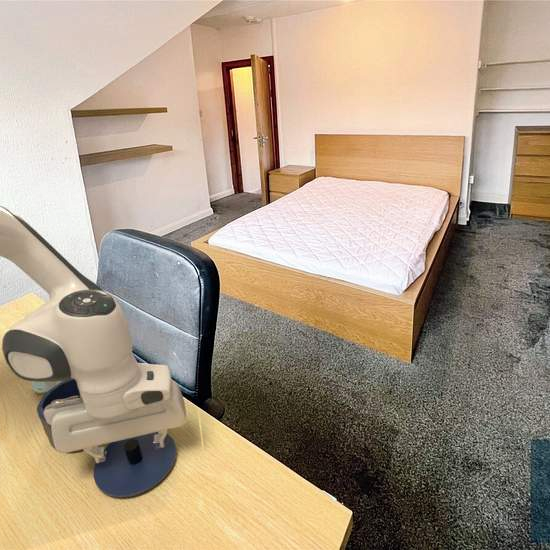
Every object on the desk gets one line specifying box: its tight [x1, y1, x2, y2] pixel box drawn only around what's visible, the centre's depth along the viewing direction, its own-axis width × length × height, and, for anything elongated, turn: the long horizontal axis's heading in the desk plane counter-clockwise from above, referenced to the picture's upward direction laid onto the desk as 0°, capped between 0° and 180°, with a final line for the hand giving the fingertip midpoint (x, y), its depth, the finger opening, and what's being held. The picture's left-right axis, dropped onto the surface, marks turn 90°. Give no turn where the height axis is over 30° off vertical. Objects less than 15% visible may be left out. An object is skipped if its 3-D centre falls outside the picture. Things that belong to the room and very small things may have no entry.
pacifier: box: [30, 381, 63, 394], centre depth 89 cm, size 7×6×6 cm
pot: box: [36, 378, 84, 454], centre depth 77 cm, size 13×13×8 cm
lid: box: [93, 432, 177, 498], centre depth 70 cm, size 14×14×5 cm
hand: (131, 452), depth 69 cm, fingers open, 8 cm apart
